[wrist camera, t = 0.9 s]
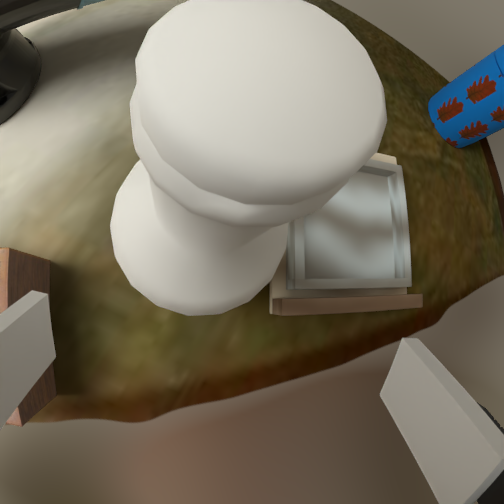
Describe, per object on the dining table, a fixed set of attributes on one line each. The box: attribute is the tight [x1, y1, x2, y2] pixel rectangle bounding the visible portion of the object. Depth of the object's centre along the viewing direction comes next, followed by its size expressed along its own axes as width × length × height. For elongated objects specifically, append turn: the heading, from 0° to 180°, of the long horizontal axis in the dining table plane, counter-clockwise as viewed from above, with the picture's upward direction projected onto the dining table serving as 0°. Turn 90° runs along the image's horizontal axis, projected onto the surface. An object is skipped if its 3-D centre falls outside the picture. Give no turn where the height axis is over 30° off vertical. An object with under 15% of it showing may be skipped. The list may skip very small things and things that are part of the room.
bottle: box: [110, 0, 387, 316], centre depth 18 cm, size 8×8×30 cm
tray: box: [270, 153, 423, 316], centre depth 35 cm, size 20×18×4 cm
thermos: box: [428, 45, 504, 148], centre depth 34 cm, size 11×11×25 cm
